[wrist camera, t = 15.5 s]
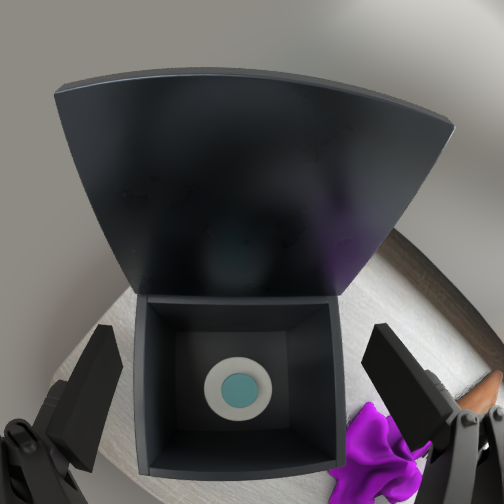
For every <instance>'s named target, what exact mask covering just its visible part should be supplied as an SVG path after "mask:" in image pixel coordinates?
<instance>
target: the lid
mask: <svg viewBox="0 0 504 504" xmlns="http://www.w3.org/2000/svg"><path fill="white" fill-rule="evenodd" d="M54 98H55V102H56V106H57V109H58V113H59V117H60V120H61V124H62V127H63V130H64V133H65V137H66V140H67V142H68V146H69V149H70V152H71V155H72V157H73V160H74V163H75V166H76V168H77V171H78V174H79V177H80V179H81V182H82V184H83V187H84V189H85V192H86V194H87V196H88V199H89V201H90V204H91V206H92V208H93V211H94V213H95V215H96V217H97V220H98V222H99V224H100V226H101V229H102V231H103V232H104V235H105V237H106V239H107V241H108V243H109V245H110V247H111V249H112V251H113V253H114V255H115V257H116V259H117V261H118V263H119V264H120V267H121V269H122V270H123V272H124V274H125V276H126V278H127V280H128V282H129V284H130V285H131V287H132V289H133V291H134V292H135V294H149V295H174V296H211V297H302V296H338V295H341V294H342V293H343V292H344V291H345V289H346V288H347V287H348V286H349V285H350V283H351V282H352V281H353V280H354V278H355V277H356V276H357V275H358V273H359V272H360V271H361V270H362V268H363V267H364V266H365V265H366V263H367V262H368V261H369V259H370V258H371V257H372V255H373V254H374V253H375V252H376V250H377V249H378V248H379V246H380V245H381V244H382V242H383V241H384V239H385V238H386V237H387V235H388V234H389V233H390V231H391V230H392V228H393V227H394V226H395V224H396V223H397V221H398V220H399V218H400V217H401V216H402V214H403V213H404V211H405V210H406V208H407V207H408V205H409V204H410V202H411V201H412V199H413V198H414V196H415V195H416V193H417V192H418V190H419V189H420V187H421V185H422V184H423V183H424V181H425V179H426V178H427V176H428V174H429V173H430V171H431V169H432V168H433V166H434V165H435V163H436V161H437V160H438V158H439V156H440V155H441V153H442V151H443V149H444V148H445V146H446V144H447V142H448V141H449V139H450V137H451V135H452V133H453V131H454V130H455V126H454V125H453V124H452V122H451V121H450V120H449V119H448V118H447V117H445V116H443V115H440V114H438V113H436V112H433V111H431V110H428V109H425V108H423V107H420V106H418V105H415V104H412V103H410V102H406V101H404V100H401V99H398V98H395V97H392V96H389V95H386V94H382V93H379V92H376V91H372V90H368V89H365V88H361V87H357V86H353V85H349V84H344V83H341V82H336V81H331V80H326V79H321V78H316V77H310V76H304V75H298V74H291V73H284V72H276V71H267V70H256V69H242V68H220V67H190V68H166V69H154V70H153V69H152V70H142V71H133V72H125V73H118V74H112V75H105V76H100V77H95V78H89V79H85V80H80V81H76V82H71V83H68V84H64V85H62V86H61V87H60V88H59V89H58V90H57V91H56V92H55V93H54Z"/></svg>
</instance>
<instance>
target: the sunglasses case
mask: <svg viewBox="0 0 504 504" xmlns="http://www.w3.org/2000/svg"><path fill="white" fill-rule="evenodd" d="M502 377H503V376H502V373H501V372H500V371H499V370H493V371H491V372H490V373H489V374H488V375H487V376H486V377H485V378H484V379H483V380H482V381H481V382H479V383H478V384H477V385H476V386H475V387H474V388H473V389H471V390H470V391H469V392H468V393H466V394H465V395H464V396H463V397H461V398H460V399H459V400H457V401H456V402H457V404H458V405H459V407H460V408H461V409H462V410H463V409H469V410H471V411H473V412H474V413H475V414H483V413H487V411H488V410H489V409H490V408H491V407H492V406H494V405H495V403H496V399H497V394H498V390H499V387H500V384H501V381H502Z"/></svg>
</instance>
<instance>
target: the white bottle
mask: <svg viewBox="0 0 504 504" xmlns="http://www.w3.org/2000/svg"><path fill="white" fill-rule="evenodd" d="M204 394H205V398H206V400H207V403H208V404H209V406H210V407H211V409H212V410H213V411H214V412H215V413H217V414H218V415H219V416H221V417H223V418H225V419H228V420H233V421H244V420H249V419H251V418H254V417H256V416H257V415H259V414H260V413H261V412H262V411H263V410H264V409H265V408H266V407H267V405H268V404H269V401H270V399H271V395H272V383H271V379H270V377H269V375H268V373H267V372H266V370H265V369H264V368H263V367H262V366H261V365H260V364H258V363H257V362H255V361H253V360H251V359H248V358H244V357H232V358H228V359H225V360H223V361H220V362H219V363H217V364H216V365H215V366H214V367H213V368H212V369H211V370H210V372H209V373H208V375H207V377H206V380H205V384H204Z"/></svg>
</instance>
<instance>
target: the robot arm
mask: <svg viewBox="0 0 504 504" xmlns="http://www.w3.org/2000/svg"><path fill="white" fill-rule="evenodd" d="M361 364H362V366H363V367H364V369H365V371H366V372H367V374H368V376H369V378H370V379H371V381H372V383H373V385H374V386H375V388H376V390H377V392H378V393H379V395H380V397H381V399H382V400H383V402H384V404H385V406H386V407H387V409H388V411H389V413H390V415H391V416H392V418H393V420H394V422H395V424H396V426H397V427H398V429H399V431H400V433H401V435H402V437H403V438H404V440H405V442H406V444H407V446H408V448H409V450H410V452H414V451H416V450H419V449H421V448H423V447H424V446H425V445H426V444H427V443H428V442H429V441H431V443H432V445H431V446H430V447H429V448H428V449H427V450H426V451H425V452H424V453H423V455H422V458H424V457H425V456H426V454H427V453H428V456H427V457H426V459H427V461H426V465H425V469H424V473H423V476H422V480H421V483H420V487H419V490H418V493H417V496H416V499H415V502H414V504H504V408H503V407H501V406H498V405H494V406H492V407H491V408H490V409H489V410H488V411H487V413H483V414H475V413H474V412H473V411H471V410H469V409H463V410H462V409H461V408H460V407H459V405H458V404H457V402H456V401H455V400H454V398H453V397H452V396H451V394H450V393H449V392H448V390H447V389H445V386H444V385H443V384H441V381H440V380H439V379H438V377H437V376H436V375H435V374H433V373H432V372H431V371H429V370H423V368H422V367H421V366H420V364H419V363H418V362H417V361H416V359H415V358H414V357H413V355H412V354H411V353H410V352H409V350H408V349H407V348H406V347H405V345H404V344H403V343H402V342H401V340H400V339H399V338H398V337H397V335H396V334H395V333H394V332H393V331H392V329H391V328H390V327H389V326H388V324H387V323H382V324H375V325H374V328H373V331H372V334H371V337H370V340H369V342H368V345H367V348H366V351H365V353H364V356H363V359H362V361H361ZM122 369H123V365H122V361H121V358H120V354H119V351H118V347H117V343H116V339H115V335H114V331H113V327H112V326H110V325H101V324H98V326H97V327H96V329H95V331H94V333H93V334H92V336H91V338H90V340H89V342H88V343H87V345H86V347H85V349H84V351H83V353H82V355H81V356H80V358H79V360H78V362H77V364H76V366H75V368H74V370H73V372H72V374H71V376H70V378H69V380H68V382H67V381H63V380H58V381H57V382H56V383H55V384H54V385H53V386H52V387H51V388H50V390H49V392H48V394H47V398H45V400H44V404H43V405H42V407H41V409H40V411H39V413H38V415H37V417H36V419H35V422H34V424H33V426H32V427H31V425H30V424H29V423H28V422H27V421H26V420H23V419H14V420H12V421H10V422H9V423H8V424H7V425H6V427H5V430H4V437H1V436H0V504H88V502H87V501H86V499H85V497H84V496H83V494H82V492H81V490H80V489H79V487H78V485H77V483H76V481H75V479H74V478H73V476H72V474H71V472H70V470H69V469H68V467H69V463H71V464H72V465H73V466H74V467H75V468H76V469H79V470H83V471H87V472H90V473H92V470H93V466H94V462H95V458H96V454H97V450H98V446H99V443H100V439H101V435H102V432H103V428H104V425H105V421H106V418H107V415H108V411H109V408H110V405H111V402H112V399H113V396H114V392H115V389H116V386H117V383H118V380H119V378H120V375H121V372H122ZM487 443H488V444H489V447H488V448H487V449H485V445H486V444H487Z"/></svg>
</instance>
